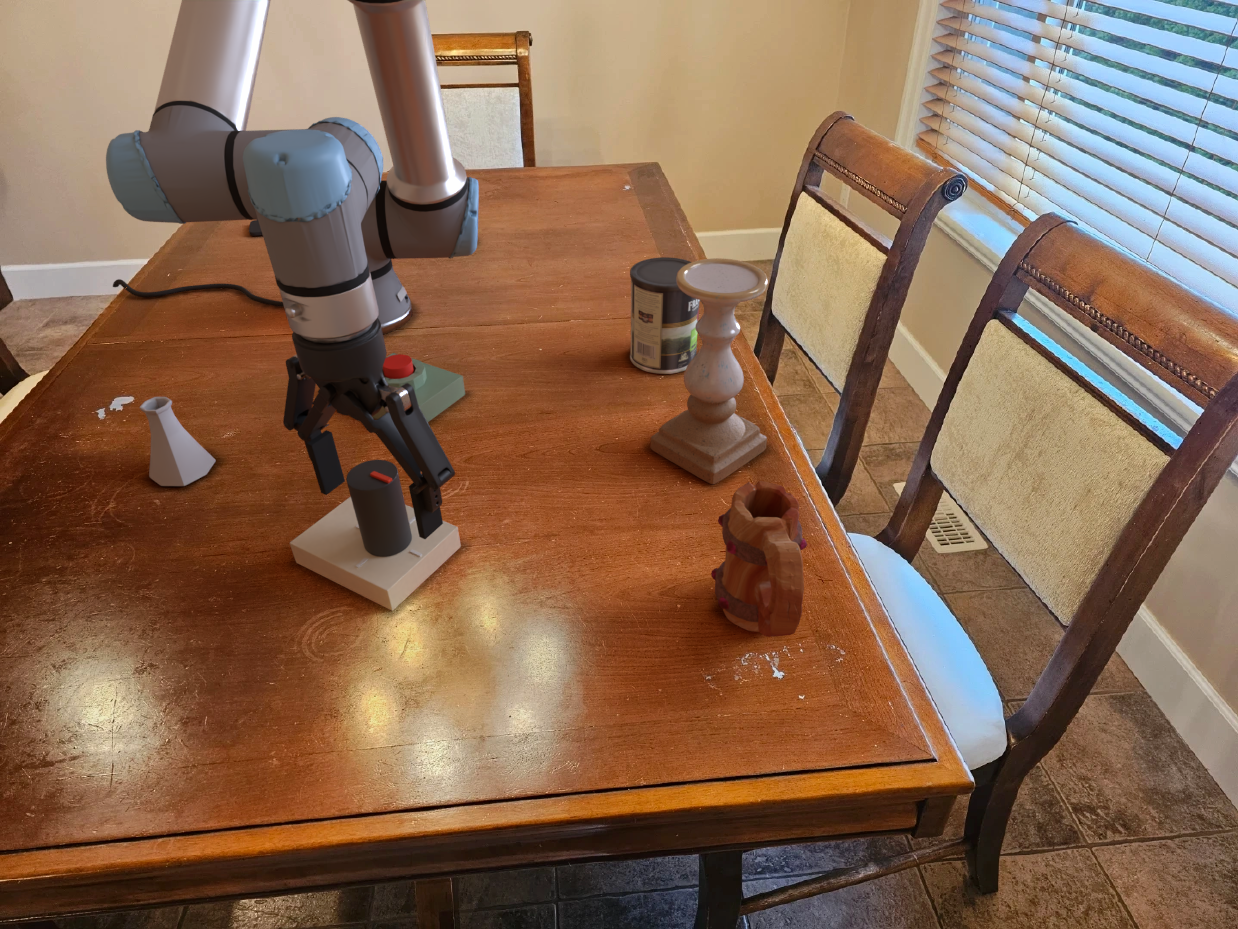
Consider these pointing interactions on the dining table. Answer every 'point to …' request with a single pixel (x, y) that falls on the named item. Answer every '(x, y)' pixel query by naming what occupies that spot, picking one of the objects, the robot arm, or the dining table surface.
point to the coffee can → (661, 317)
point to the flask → (173, 447)
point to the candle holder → (714, 376)
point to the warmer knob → (379, 507)
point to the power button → (398, 366)
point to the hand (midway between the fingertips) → (380, 508)
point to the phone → (255, 228)
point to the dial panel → (372, 556)
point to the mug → (762, 560)
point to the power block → (430, 388)
